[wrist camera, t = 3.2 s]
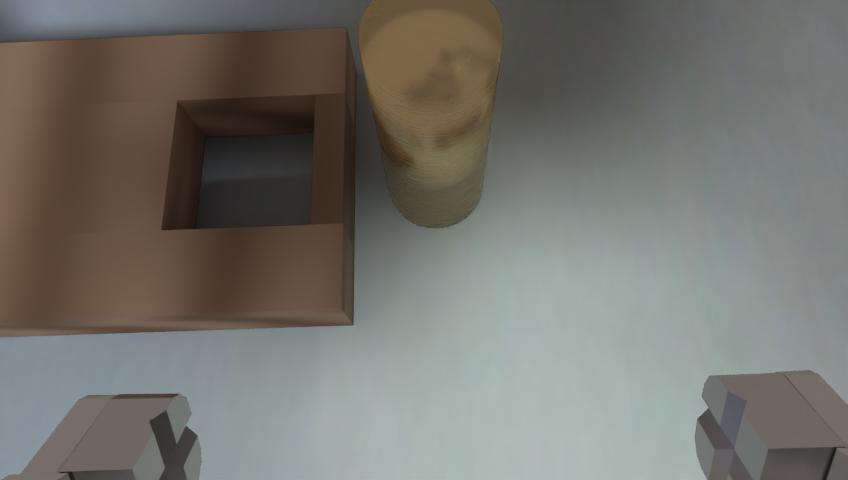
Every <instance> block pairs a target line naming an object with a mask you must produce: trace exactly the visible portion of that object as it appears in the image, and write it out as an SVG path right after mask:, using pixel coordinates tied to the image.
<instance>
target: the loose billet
mask: <svg viewBox="0 0 848 480" xmlns="http://www.w3.org/2000/svg"><path fill="white" fill-rule="evenodd" d="M502 43H503V26H502V21H501V18H500V15H499V13H498V11H497V9H496V7H495V6H494V5H493V3H492V2H491V0H373V1H372V2H371V3H370V4H369V6H368V7H367V9H366V10H365V12H364V14H363V16H362V19H361V21H360V25H359V30H358V45H359V50H360V54H361V59H362V64H363V68H364V73H365V78H366V82H367V87H368V92H369V96H370V101H371V106H372V110H373V115H374V120H375V124H376V129H377V134H378V138H379V143H380V148H381V152H382V157H383V162H384V166H385V171H386V176H387V180H388V185H389V190H390V194H391V198H392V201H393V203H394V205H395V207H396V208H397V210H398V211H399V212H400V213H401V214H402V215H403V216H404V217H405V218H406V219H407V220H409V221H411V222H412V223H414V224H417V225H419V226H423V227H427V228H444V227H448V226H452V225H454V224H457V223H459V222H461V221H462V220H464V219H465V218H466V217H467V216H469V215H470V214H471V213H472V211H473V210H474V209H475V207H476V206H477V204H478V202H479V200H480V197H481V193H482V186H483V179H484V172H485V164H486V157H487V150H488V143H489V136H490V129H491V122H492V114H493V107H494V100H495V93H496V86H497V79H498V72H499V65H500V57H501V50H502Z"/></svg>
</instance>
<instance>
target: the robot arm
mask: <svg viewBox="0 0 848 480" xmlns="http://www.w3.org/2000/svg"><path fill="white" fill-rule="evenodd" d="M702 398H703V400H704V401H705V403H706V404H707V406H708V409H707V410H706V411H705V412H704V413H703V414H702V415H701V416H700V417H699V418H698V419H697V424H696V431H695V444H696V453H697V457H698V460H699V463H700V466H701V468H702V470H703V472H704V474H705V476H706V478H707V480H848V405H847V404H846V403H845V402H844V401H843V400H842V398H841V397H840V396H839V395H838V394H837V393H836V392H835V391H834V390H833V389H832V388H831V387H830V386H829V385H828V384H827V383H826V381H825V380H824V379H823V378H822V377H821V376H820V375H818V374H817V373H815V372H813V371H810V370H804V371H786V372H776V373H763V374H738V375H713V376H709V377H708V379H707V380H706V382H705V383H704V388H703V393H702ZM191 414H192V413H191V410H190V407H189V403H188V400H187V397H185V396H183V395H181V394H119V395H88V396H86V397H83V398H81V399H79V400H78V401H77V402H76V404H75V405H74V406H73V407H72V409H71V410H70V411H69V412H68V414H67V415H66V416H65V418H64V419H63V420H62V421H61V423H60V424H59V425H58V427H57V428H56V429H55V430H54V432H53V433H52V434H51V436H50V437H49V438H48V439H47V441H46V442H45V443H44V444H43V446H42V447H41V448H40V450H39V451H38V452H37V453H36V455H35V456H34V457H33V459H32V460H31V461H30V462H29V464H28V465H27V466H26V468H25V469H24V470H23V471H22V473H21V474H19V475H9V476H7V477H5V478H4V479H2V480H199V475H200V469H201V463H202V460H201V447H200V443H199V439H198V435H196V434H195V433H194V432H193V431H192V430H190V429H189V428H188V427H187V426H186V425H187V423H188V420H189V418H190V416H191Z"/></svg>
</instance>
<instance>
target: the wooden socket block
mask: <svg viewBox="0 0 848 480" xmlns="http://www.w3.org/2000/svg"><path fill="white" fill-rule="evenodd" d="M312 132H314V143H313V169H312V196H311V223H310V225H290V226H263V227H237V228H211V229H196V220H197V211H198V201H199V192H200V182H201V172H202V163H203V153H204V144H205V137H216V136H240V135H264V134H288V133H312ZM355 137H356V67H355V63H354V58H353V54H352V50H351V45H350V41H349V37H348V33H347V28H346V27H342V28H320V29H298V30H276V31H254V32H232V33H210V34H188V35H166V36H144V37H122V38H100V39H78V40H56V41H34V42H12V43H0V337H20V336H49V335H78V334H107V333H136V332H165V331H194V330H223V329H252V328H282V327H311V326H340V325H353V316H354V226H355Z"/></svg>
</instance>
